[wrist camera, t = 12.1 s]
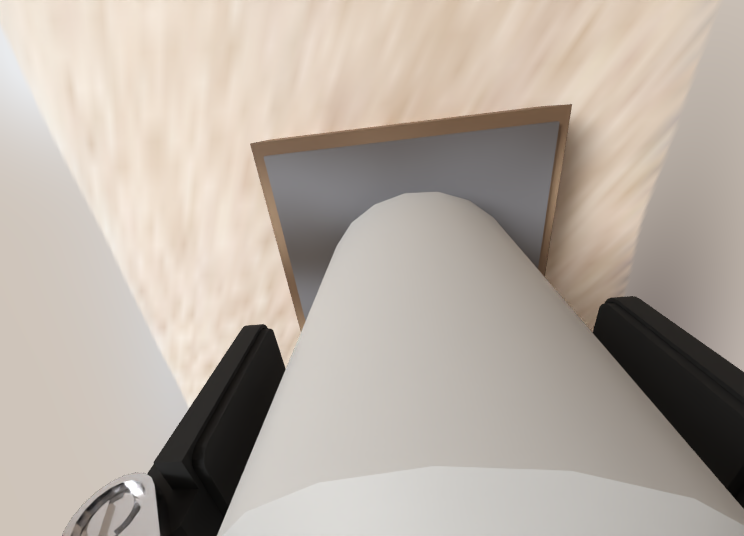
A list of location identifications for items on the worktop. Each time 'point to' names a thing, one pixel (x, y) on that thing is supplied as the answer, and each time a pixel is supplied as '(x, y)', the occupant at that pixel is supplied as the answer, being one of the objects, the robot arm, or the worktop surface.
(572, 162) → the worktop surface
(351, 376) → the can
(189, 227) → the worktop surface
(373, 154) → the plinth
